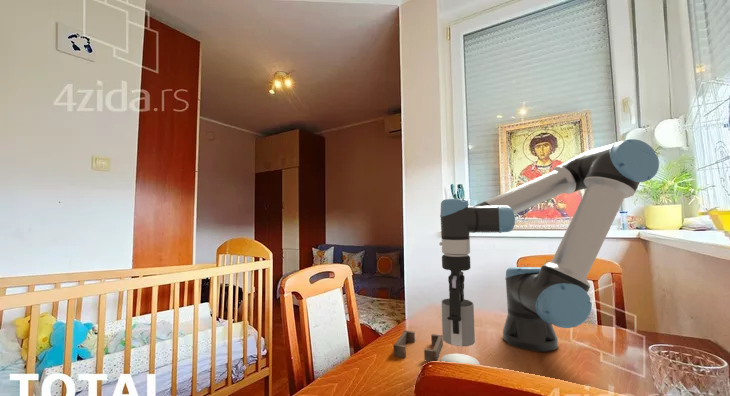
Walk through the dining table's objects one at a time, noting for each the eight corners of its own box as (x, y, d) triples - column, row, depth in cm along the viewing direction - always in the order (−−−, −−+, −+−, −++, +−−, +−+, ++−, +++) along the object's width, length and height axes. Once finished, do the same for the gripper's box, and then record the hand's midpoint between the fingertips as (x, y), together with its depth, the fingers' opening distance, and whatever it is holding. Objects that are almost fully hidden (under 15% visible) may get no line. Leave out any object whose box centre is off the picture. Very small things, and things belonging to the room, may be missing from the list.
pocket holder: (442, 345, 92) (442, 335, 92) (436, 363, 81) (436, 351, 81) (405, 339, 97) (404, 330, 97) (394, 356, 86) (393, 345, 86)
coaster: (480, 358, 83) (480, 356, 83) (479, 376, 74) (479, 374, 74) (443, 352, 87) (443, 351, 87) (438, 369, 78) (438, 367, 78)
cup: (476, 347, 76) (475, 307, 77) (443, 345, 78) (442, 306, 78) (471, 334, 84) (470, 298, 85) (442, 332, 86) (440, 297, 87)
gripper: (446, 250, 94) (449, 323, 92) (435, 259, 74) (438, 352, 73) (472, 250, 91) (474, 326, 89) (467, 260, 71) (470, 358, 70)
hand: (458, 338), depth 81 cm, fingers closed on cup, 8 cm apart
